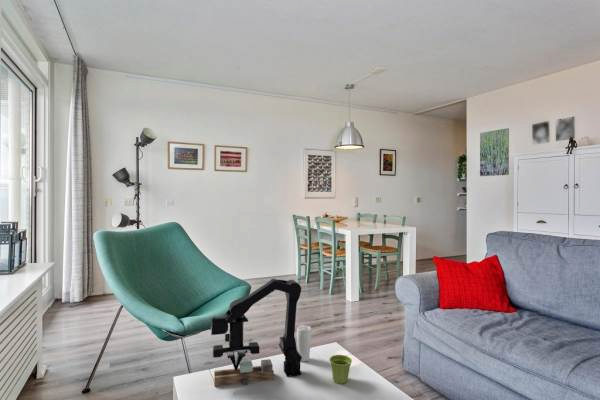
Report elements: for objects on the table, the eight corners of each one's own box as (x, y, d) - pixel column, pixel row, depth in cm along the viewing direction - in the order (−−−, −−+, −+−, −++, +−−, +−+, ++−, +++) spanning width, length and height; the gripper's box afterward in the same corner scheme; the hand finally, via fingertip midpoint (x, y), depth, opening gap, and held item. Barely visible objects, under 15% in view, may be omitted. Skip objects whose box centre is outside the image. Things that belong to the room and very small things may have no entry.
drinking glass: (309, 363, 163) (309, 331, 163) (295, 362, 164) (295, 329, 164) (311, 357, 170) (312, 325, 170) (298, 355, 171) (298, 324, 171)
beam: (270, 371, 156) (270, 357, 156) (274, 381, 147) (274, 366, 147) (214, 377, 150) (214, 363, 150) (214, 388, 141) (214, 373, 141)
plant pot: (354, 377, 150) (354, 357, 150) (347, 388, 142) (348, 366, 142) (333, 373, 154) (333, 353, 154) (326, 383, 146) (326, 361, 146)
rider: (251, 369, 152) (251, 359, 152) (252, 376, 146) (252, 365, 146) (239, 371, 150) (239, 360, 150) (240, 377, 145) (240, 366, 145)
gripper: (256, 324, 157) (255, 359, 157) (213, 327, 153) (212, 363, 153) (259, 333, 147) (259, 371, 147) (213, 337, 142) (212, 376, 142)
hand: (235, 370), depth 147 cm, fingers closed
